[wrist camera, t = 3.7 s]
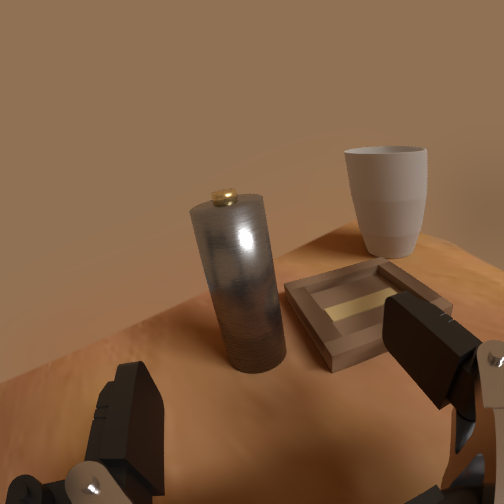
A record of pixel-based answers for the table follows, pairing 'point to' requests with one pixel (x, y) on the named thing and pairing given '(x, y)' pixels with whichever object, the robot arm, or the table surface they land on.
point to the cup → (388, 196)
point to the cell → (241, 278)
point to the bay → (353, 308)
